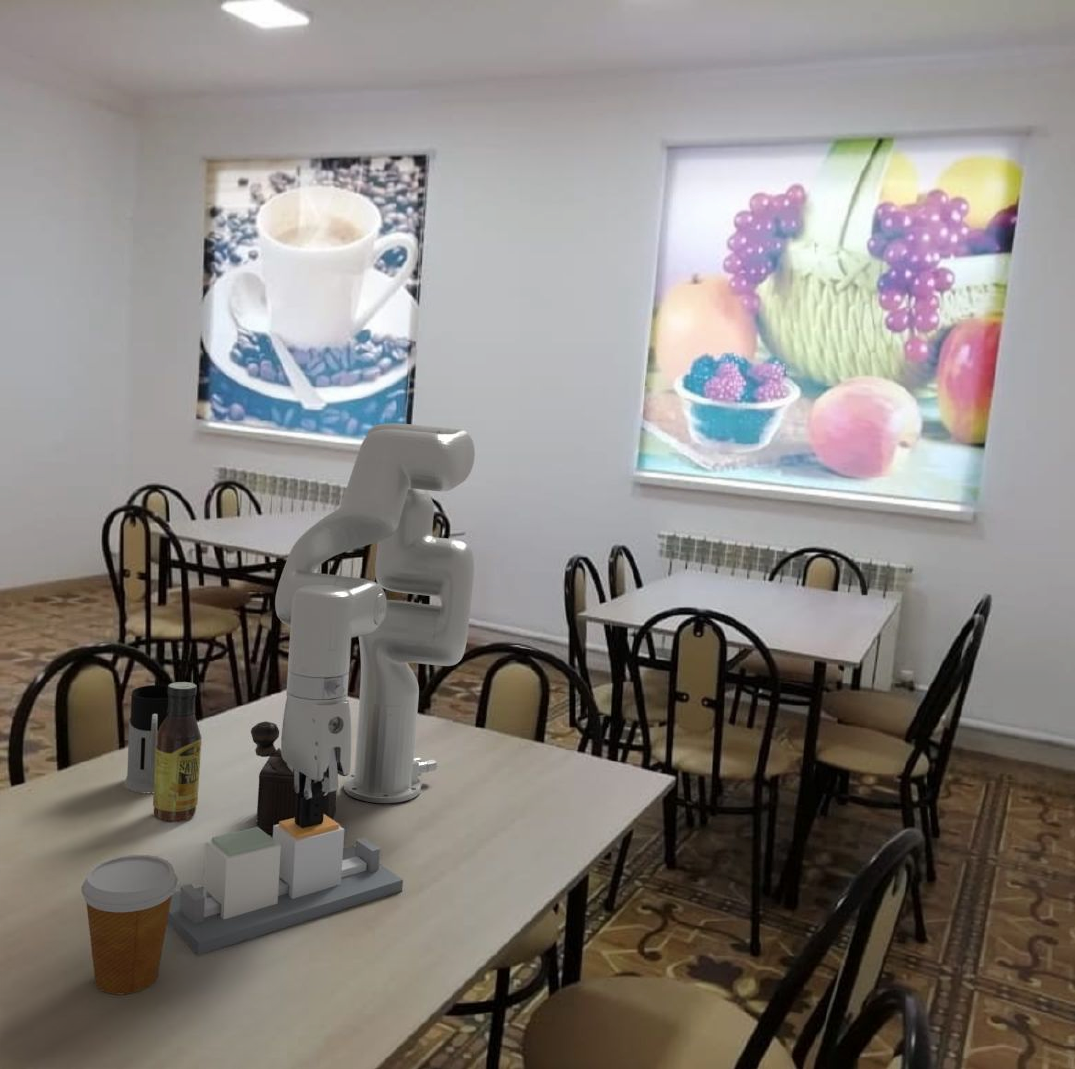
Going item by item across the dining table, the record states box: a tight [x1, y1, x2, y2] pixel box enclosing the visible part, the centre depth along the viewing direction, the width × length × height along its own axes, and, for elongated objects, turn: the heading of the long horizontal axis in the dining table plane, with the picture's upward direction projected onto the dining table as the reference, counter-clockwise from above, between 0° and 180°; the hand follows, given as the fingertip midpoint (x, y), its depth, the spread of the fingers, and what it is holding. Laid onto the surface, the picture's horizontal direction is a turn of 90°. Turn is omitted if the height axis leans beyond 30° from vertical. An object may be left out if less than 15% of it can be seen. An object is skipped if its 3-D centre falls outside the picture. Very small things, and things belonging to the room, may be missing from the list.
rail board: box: [167, 826, 404, 956], centre depth 128 cm, size 28×12×10 cm, turn 132°
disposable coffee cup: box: [81, 854, 179, 995], centre depth 108 cm, size 10×10×12 cm
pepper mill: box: [250, 720, 338, 837], centre depth 147 cm, size 16×11×18 cm
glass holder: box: [123, 684, 169, 794], centre depth 158 cm, size 9×14×15 cm, turn 18°
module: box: [272, 814, 345, 899], centre depth 130 cm, size 7×6×8 cm
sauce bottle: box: [152, 681, 202, 823], centre depth 149 cm, size 6×6×20 cm
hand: (308, 823), depth 129 cm, fingers closed
